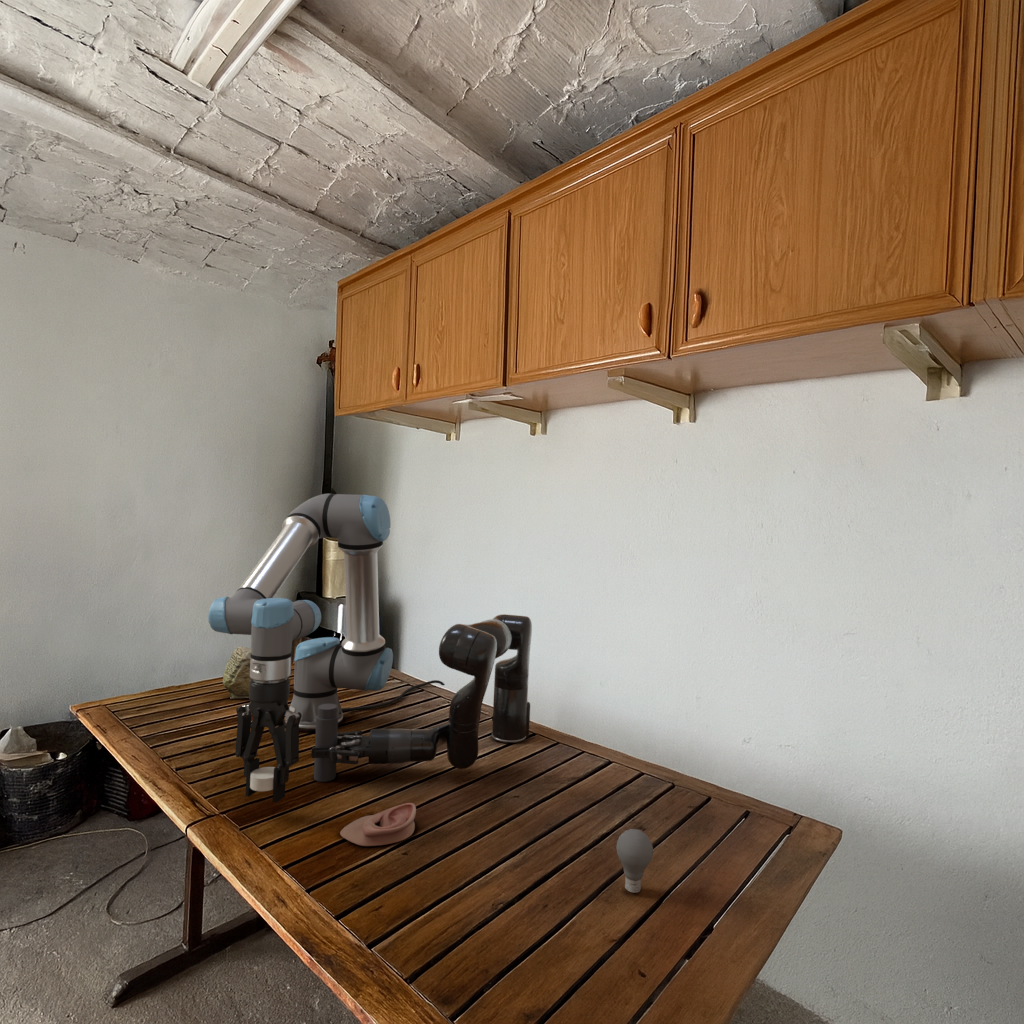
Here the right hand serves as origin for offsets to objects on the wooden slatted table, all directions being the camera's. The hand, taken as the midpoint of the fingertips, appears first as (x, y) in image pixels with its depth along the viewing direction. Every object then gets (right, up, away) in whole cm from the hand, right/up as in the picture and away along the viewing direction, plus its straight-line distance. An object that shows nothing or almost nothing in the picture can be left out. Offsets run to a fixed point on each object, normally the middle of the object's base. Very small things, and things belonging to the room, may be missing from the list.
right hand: (313, 747), depth 142 cm
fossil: (-36, -4, +56) cm, 66 cm away
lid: (-4, +2, -18) cm, 19 cm away
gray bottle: (+2, -7, +1) cm, 7 cm away
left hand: (-4, -3, -18) cm, 19 cm away
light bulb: (+65, -10, -37) cm, 75 cm away
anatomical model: (+19, -8, -22) cm, 30 cm away
